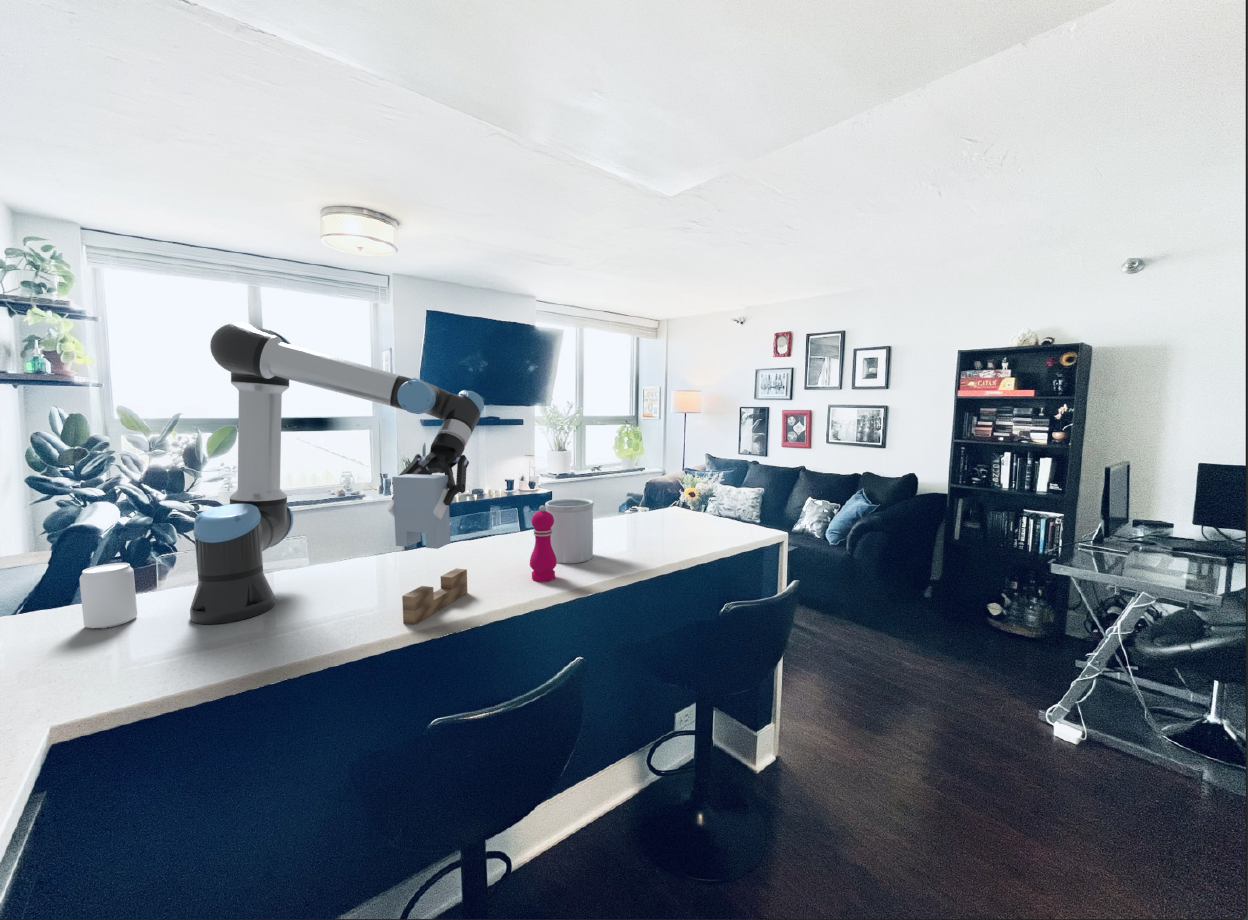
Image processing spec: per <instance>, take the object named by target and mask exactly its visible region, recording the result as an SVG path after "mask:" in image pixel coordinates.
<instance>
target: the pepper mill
mask: <svg viewBox="0 0 1248 920" xmlns="http://www.w3.org/2000/svg"><path fill="white" fill-rule="evenodd" d="M538 508H539V511H537V512H535V513H534V514H533V515H532V517H531V525H532V527H533V536H534V539H535V541H534V543H535V544H534V548H533V549H532V550H533V551H532V552H531V554H530V559H529V567H530V568H531V569H532V570H533V571H531V579H533V580H532V581H534V582H538V581H546V582H551V581H553V580H555V578H556V571H555V567H556V566H557V565H558V563H557V561H556V556H555V553H554V551H553V549H552V546H551V535H552V529H551V527H552V526H553V524H554V518H553V515H552V514H551V513H549V512H547V511H546V507H545V505H540V506H539V507H538ZM552 579H553V580H552ZM550 580H551V581H550Z"/></svg>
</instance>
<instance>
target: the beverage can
mask: <svg viewBox="0 0 1248 920" xmlns="http://www.w3.org/2000/svg"><path fill="white" fill-rule="evenodd" d="M135 581H136V580H135V573H134V568H133V567H132V566H131V564H130V563H128V562H114V563H107V564H106V563H105V564H100V565H95V566H92V567H87V568H85V569H83V570H82V571H81V575H80V577H79V589H80V599H81V600H80V601H81V608H82V609H81V610H82V618H83V620H82V621H83V625H84V627H86V628H88V629H94V628H101V629H107V627H109V628H113V627H118V626H121V625H124V624H126V623H128V622H130V621H131V620H133V619H135V618H136V617H137V616H138V607H137V606H138V605H137V595H136V594H137V593H136V584H135Z"/></svg>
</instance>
